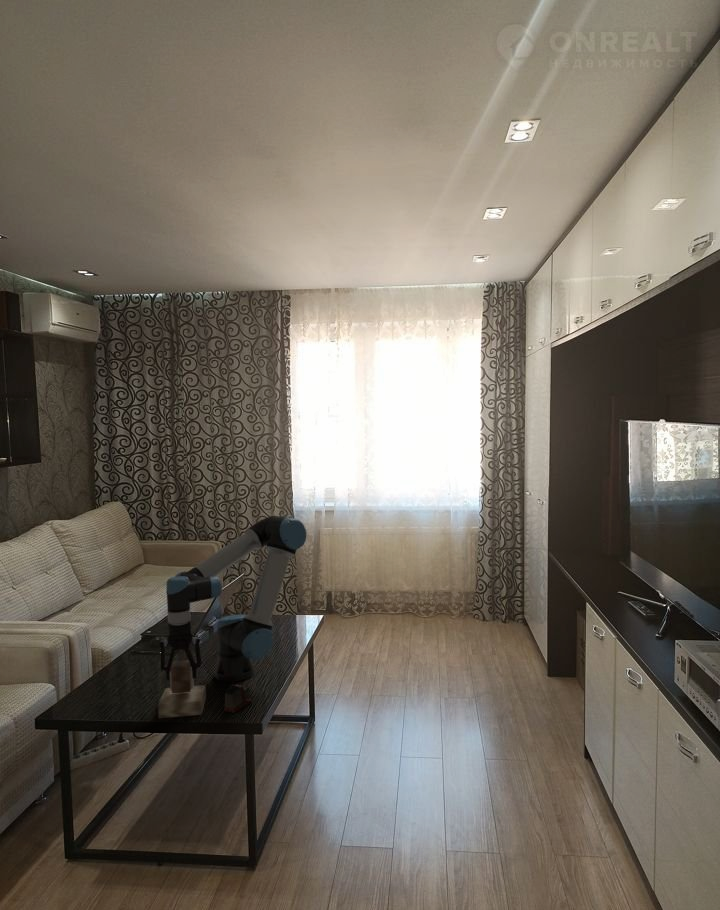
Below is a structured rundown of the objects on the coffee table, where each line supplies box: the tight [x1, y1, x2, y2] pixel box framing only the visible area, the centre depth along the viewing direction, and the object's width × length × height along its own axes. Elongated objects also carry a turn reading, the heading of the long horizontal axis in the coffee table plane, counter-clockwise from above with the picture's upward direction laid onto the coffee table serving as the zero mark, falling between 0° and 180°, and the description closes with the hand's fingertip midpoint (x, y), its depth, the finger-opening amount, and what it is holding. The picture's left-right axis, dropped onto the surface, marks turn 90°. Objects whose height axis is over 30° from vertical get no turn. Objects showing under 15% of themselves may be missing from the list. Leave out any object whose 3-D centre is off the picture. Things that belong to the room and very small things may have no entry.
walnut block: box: [171, 659, 192, 693], centre depth 222 cm, size 6×6×9 cm
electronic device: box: [224, 684, 253, 714], centre depth 221 cm, size 4×10×8 cm, turn 149°
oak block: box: [157, 684, 207, 719], centre depth 222 cm, size 14×14×5 cm
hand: (182, 688), depth 222 cm, fingers closed on walnut block, 6 cm apart
